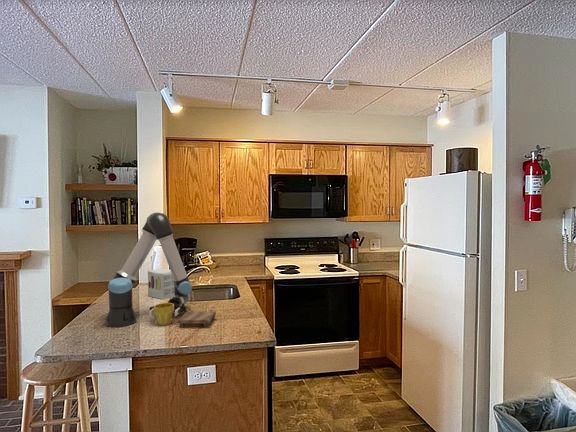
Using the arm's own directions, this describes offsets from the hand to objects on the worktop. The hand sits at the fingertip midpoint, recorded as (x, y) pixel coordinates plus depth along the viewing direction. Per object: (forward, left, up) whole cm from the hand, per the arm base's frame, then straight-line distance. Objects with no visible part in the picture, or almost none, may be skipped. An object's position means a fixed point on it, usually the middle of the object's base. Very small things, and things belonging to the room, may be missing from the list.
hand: (162, 313), depth 202 cm
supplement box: (-23, +64, -6) cm, 68 cm away
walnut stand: (+18, +3, -6) cm, 19 cm away
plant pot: (0, +3, -6) cm, 7 cm away
